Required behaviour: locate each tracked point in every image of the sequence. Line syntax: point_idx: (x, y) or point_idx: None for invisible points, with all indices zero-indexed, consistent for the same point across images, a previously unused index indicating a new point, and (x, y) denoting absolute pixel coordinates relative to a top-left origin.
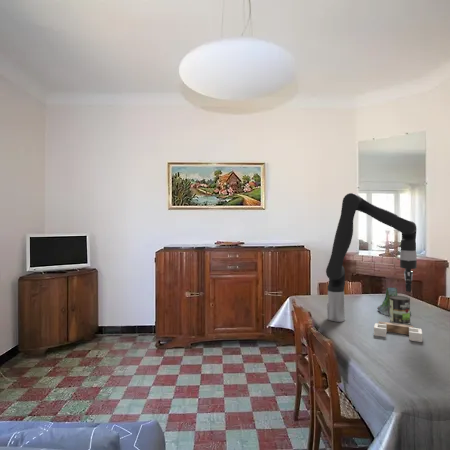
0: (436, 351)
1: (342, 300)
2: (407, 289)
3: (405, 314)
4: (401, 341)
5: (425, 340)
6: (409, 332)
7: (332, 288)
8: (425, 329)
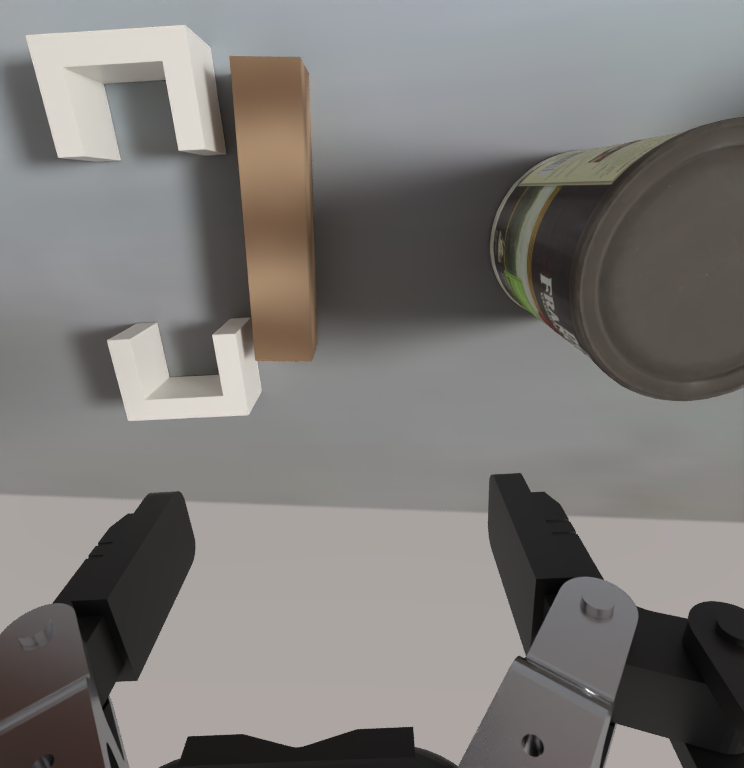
0: (41, 460)
1: None
2: (111, 536)
3: (529, 304)
4: (77, 277)
5: None
6: (110, 341)
7: None
8: (446, 412)
